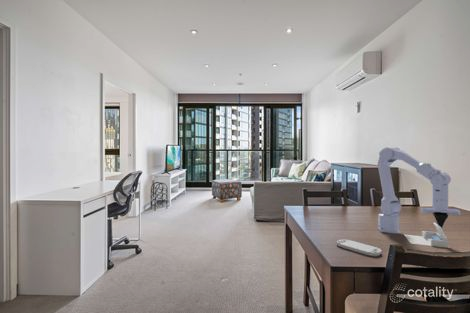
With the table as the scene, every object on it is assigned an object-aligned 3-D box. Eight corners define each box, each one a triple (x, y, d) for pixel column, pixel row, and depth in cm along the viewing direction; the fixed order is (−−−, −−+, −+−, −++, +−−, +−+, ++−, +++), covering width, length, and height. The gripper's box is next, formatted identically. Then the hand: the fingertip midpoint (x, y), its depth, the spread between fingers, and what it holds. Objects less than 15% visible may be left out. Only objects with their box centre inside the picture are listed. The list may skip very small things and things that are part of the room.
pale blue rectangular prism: (436, 244, 122) (437, 240, 122) (431, 239, 128) (431, 236, 128) (442, 245, 121) (442, 241, 121) (437, 240, 128) (437, 236, 128)
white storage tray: (410, 244, 123) (411, 237, 123) (403, 235, 136) (403, 229, 136) (450, 248, 118) (451, 241, 118) (439, 238, 131) (439, 232, 131)
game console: (384, 248, 112) (375, 253, 107) (384, 254, 112) (375, 259, 107) (343, 237, 126) (333, 241, 121) (343, 242, 126) (333, 246, 121)
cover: (439, 227, 120) (441, 227, 120) (433, 222, 129) (434, 222, 128) (446, 239, 119) (448, 238, 119) (439, 233, 128) (441, 233, 127)
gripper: (424, 199, 122) (424, 229, 122) (463, 201, 117) (463, 233, 117) (419, 197, 129) (419, 225, 129) (456, 199, 124) (456, 228, 124)
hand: (440, 229), depth 124 cm, fingers closed, pressing on cover
